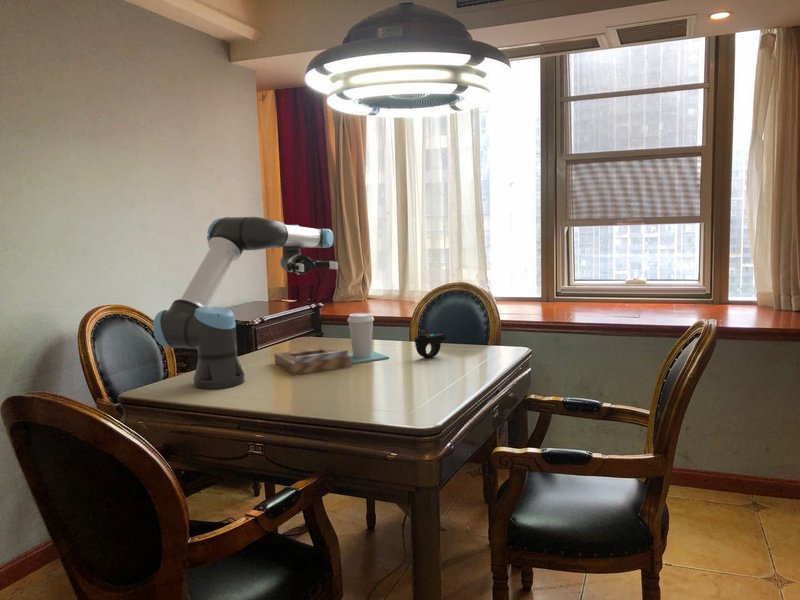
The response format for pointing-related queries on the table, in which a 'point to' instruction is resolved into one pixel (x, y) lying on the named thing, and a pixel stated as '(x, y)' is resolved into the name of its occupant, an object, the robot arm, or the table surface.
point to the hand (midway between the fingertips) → (320, 266)
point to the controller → (424, 340)
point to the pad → (368, 358)
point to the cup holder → (313, 360)
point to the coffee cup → (361, 334)
